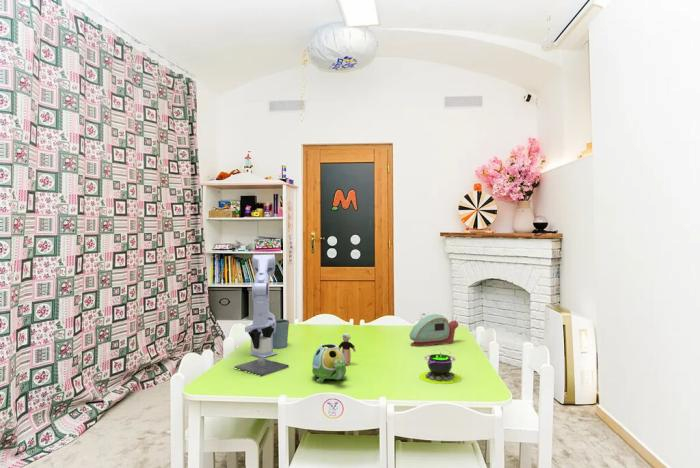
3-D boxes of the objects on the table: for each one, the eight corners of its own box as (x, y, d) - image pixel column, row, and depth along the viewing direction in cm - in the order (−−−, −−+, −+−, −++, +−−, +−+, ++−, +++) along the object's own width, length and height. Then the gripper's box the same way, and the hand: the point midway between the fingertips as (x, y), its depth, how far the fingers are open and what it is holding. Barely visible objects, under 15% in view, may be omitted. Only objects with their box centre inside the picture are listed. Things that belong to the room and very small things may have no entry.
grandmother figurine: (336, 365, 186) (336, 333, 186) (338, 362, 189) (337, 331, 189) (355, 365, 185) (355, 334, 184) (356, 363, 188) (356, 332, 188)
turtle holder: (324, 390, 157) (323, 355, 157) (307, 375, 173) (307, 343, 173) (357, 385, 162) (357, 351, 162) (338, 370, 178) (337, 340, 178)
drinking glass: (263, 348, 214) (263, 322, 214) (273, 343, 223) (273, 318, 223) (283, 349, 211) (283, 323, 211) (292, 344, 220) (292, 319, 220)
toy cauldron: (431, 369, 180) (431, 340, 180) (467, 376, 171) (467, 346, 170) (411, 378, 168) (411, 348, 168) (449, 387, 159) (449, 355, 159)
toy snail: (413, 347, 213) (413, 317, 212) (407, 343, 220) (407, 314, 220) (462, 343, 220) (461, 314, 220) (454, 339, 227) (453, 311, 227)
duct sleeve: (271, 350, 182) (271, 338, 182) (262, 353, 179) (262, 340, 179) (260, 348, 186) (260, 336, 186) (251, 350, 183) (251, 338, 183)
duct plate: (234, 368, 182) (234, 358, 182) (261, 360, 193) (261, 351, 193) (261, 376, 172) (261, 365, 172) (288, 367, 183) (288, 357, 183)
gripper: (253, 316, 174) (253, 352, 174) (281, 311, 186) (281, 344, 186) (241, 314, 179) (241, 349, 179) (269, 309, 190) (269, 342, 190)
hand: (261, 347), depth 183 cm, fingers closed on duct sleeve, 4 cm apart
